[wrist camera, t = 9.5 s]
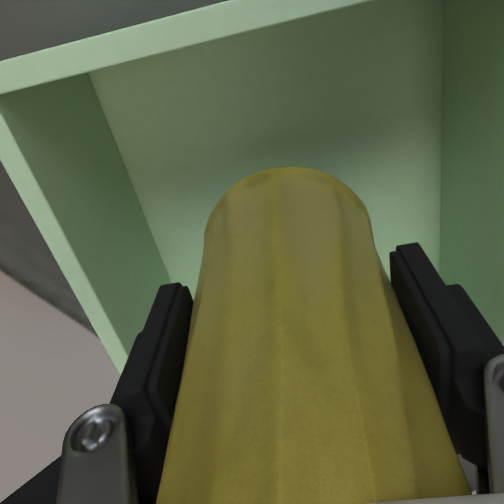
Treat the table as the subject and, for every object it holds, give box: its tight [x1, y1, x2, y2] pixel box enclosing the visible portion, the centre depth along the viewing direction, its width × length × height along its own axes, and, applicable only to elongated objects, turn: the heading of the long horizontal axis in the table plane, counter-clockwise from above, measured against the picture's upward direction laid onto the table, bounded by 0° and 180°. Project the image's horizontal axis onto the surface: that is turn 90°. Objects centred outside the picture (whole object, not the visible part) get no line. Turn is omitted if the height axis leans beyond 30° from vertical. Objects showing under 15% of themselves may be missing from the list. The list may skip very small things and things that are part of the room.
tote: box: [0, 0, 504, 376], centre depth 17 cm, size 16×17×8 cm
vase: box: [156, 166, 472, 504], centre depth 9 cm, size 6×6×14 cm
